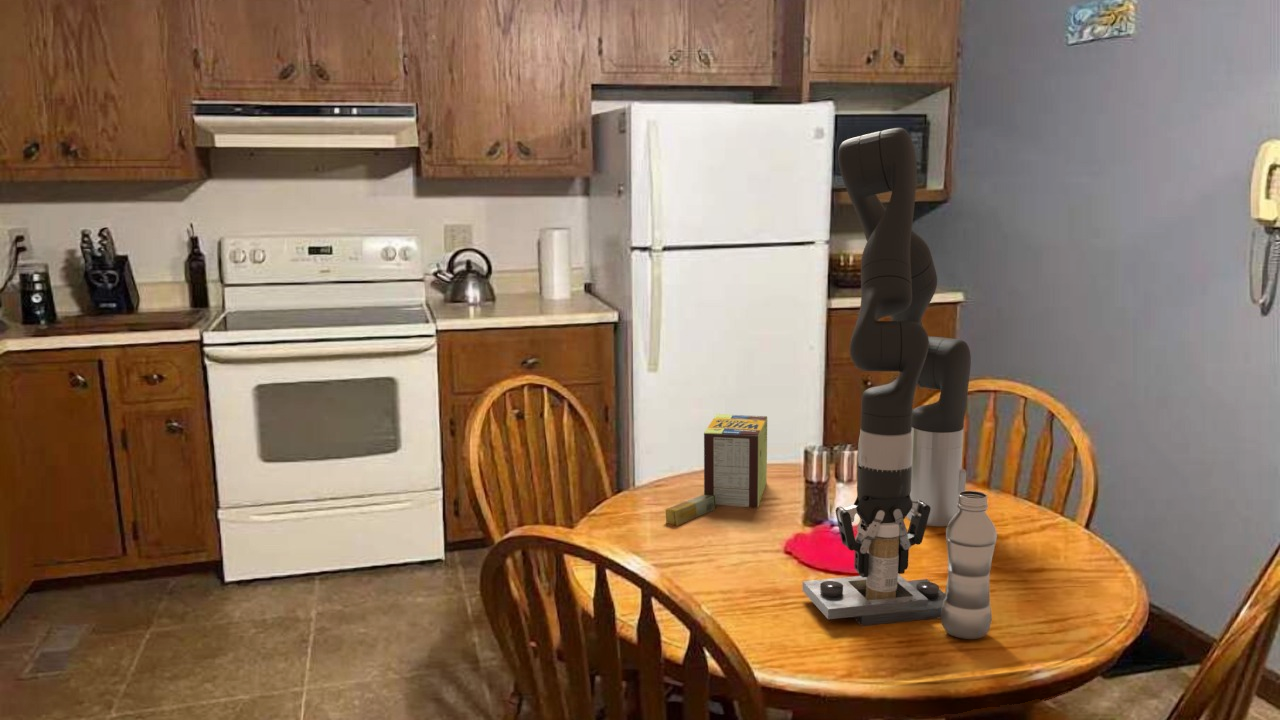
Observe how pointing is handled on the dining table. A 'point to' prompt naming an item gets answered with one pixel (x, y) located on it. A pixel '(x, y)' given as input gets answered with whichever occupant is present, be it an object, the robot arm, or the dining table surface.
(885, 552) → the sprinkles bottle
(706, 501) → the medication box
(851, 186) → the robot arm
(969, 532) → the plastic bottle
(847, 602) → the grey slotted fixture plate
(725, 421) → the protein box
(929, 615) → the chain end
